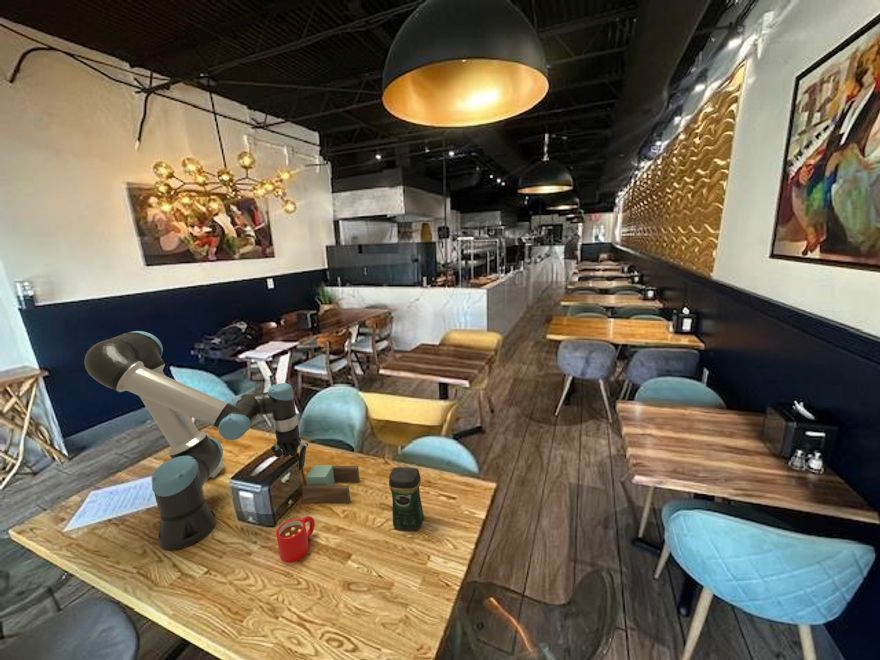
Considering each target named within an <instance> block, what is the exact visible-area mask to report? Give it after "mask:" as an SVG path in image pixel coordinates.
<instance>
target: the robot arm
mask: <svg viewBox="0 0 880 660" xmlns="http://www.w3.org/2000/svg"><path fill="white" fill-rule="evenodd" d="M163 351H164V348H163V344H162V342H161V341H160V339H158V337H156V336H155V335H154V334H151V333H150V332H146V331H142V330H136V331H135V330H134V331H129V332H126V333H122V334H120V335H117V336H115V337H112V338H109V339H105V340H102V341H99V342H97V343H96V344H94V345H92V346H91V347H90V348H89V349H88V350H87V352H86V354H85V356H84V367H85V370H86V371H87V373H88V375H89V376H90V377H92V379H93V380H95V381H96V382H98V383H99V384H101V385H103V386H104V387H106V388H109V389H111V390H114V391H116V392H119V393H121V392H122V393H123V392H126V391H127V392H129V393H132V394H134V395H136V396H138V397H139V398H140V400H141V401H142V403H143V405H144V407H145V408H146V410H147V412H149V414H150V416H151V417H152V419H153V420H154V422H155V424H156V425H157V426H158V428H159V430H160V431H161V433H162V435H163V436H164V438H165V439H166V440H167V443H168V444H169V445H170V449H169V451H168V455H169V457H170V458H171V459H169V460H168V461H165V462H163V463H162V464H160V465H159V466H158V467H156V469H155V470H154V472H153V473H152V475H151V488H152V491H153V493H154V498H155V500H156V505H157V510H158V513H159V517H160V524H159V530H158V531H159V532H158V535H157V537H158V538H157V539H158V543H159V546H160V548H161V549H163V550H165V551H176V550H181V549H184V548H189V547H190V546H192V545H195V544H196V543H198V542H199V541H202V540H203V539H204V538H206V536H208V535H209V534H210V533H211V532H212V531H213V530H214V528H215V526H216V524H217V518H216V514H215V512H214V511H213V510H212V509H211V508H210V506H209V505H208V503H207V502H206V500H205V494H204V489H203V487H204V485H205V483H206V482H207V481H208V479H209V478H211V477H210V475H211V474H212V473H213V471H214V470H215V469H216V468H217V467H218V465H219V463H220V461H221V459H222V457H223V456H224V450H223V446H222V444H221V443H220V441H218V440H217V439H216V438H212V437H211V436H208V434H207V433H206V432H203V431H199V429H198V428H197V426H196V424H195V423H194V422H193V420H192V419H193V418H194V419H196V420H198V421H199V422H200V421H201V422H203V423H205V424H208V425H209V426H212V427H214V428H217V430H218V433H219V435H220V436H221V437H222V439H223V438H224V439H225V440H228V441H236V440H239V439H241V438H242V437H244V435H245V434H246V433H247V432H248V431H249V430H250V428H251V426H252V424H253V423H254V422H255V421H256V419H257V418H258V416H266V415H272V420H273V426H274V432H275V439H276V440H277V441H276V443H274V444H272V446H271V447H270V450H271V451H272V452H273V453H274V455H275V458H276V457H280V456H281V455H282V454H283V455H284V457H286V456H289V455H291V456H295V454H298V459H299V470H300V471H302V469H303V468H304V467H305V463H306V453H307V449H308V446H309V443H307V442H305V443H304V442H303V441H302V439H301V438H300V430H299V424H298V423H299V422H298V417H297V411H296V405H295V404H296V402H295V395H294V392H293V387H292V385H291V384H290V383H286V382H279V383H277V384H272V385H271V386H269V388H268V391H266V392H256V393H243V394H238V395H235V396H234V397H232V399H231V401H230V403H229V402H226V401H225V400H221V399H219V398H217V397H215V396H212V395H210V394H208V393H206V392H203V391H201V390H198V389H196V388H194V387H192V386H190V385H187V384H185V383H183V382H180V381H177V380H175V379H173V378H171V377H168V376H167V375H165V373H164V371H163V370H164V368H165V366H166V364H165V362H164V360H163V359H162V355H163ZM299 450H300V451H299ZM298 451H299V453H298Z"/></svg>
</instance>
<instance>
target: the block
mask: <svg viewBox="0 0 880 660" xmlns="http://www.w3.org/2000/svg"><path fill="white" fill-rule="evenodd" d="M333 466H334V465H330V464H329V465H327V464H325V465H323V464H322V465H321V464H320V465H313V466H312V468H311V469H310V470H309V472H308V473H307V475H306V476H305V478H306V485H336V482H335V481H334V473H333Z"/></svg>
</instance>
